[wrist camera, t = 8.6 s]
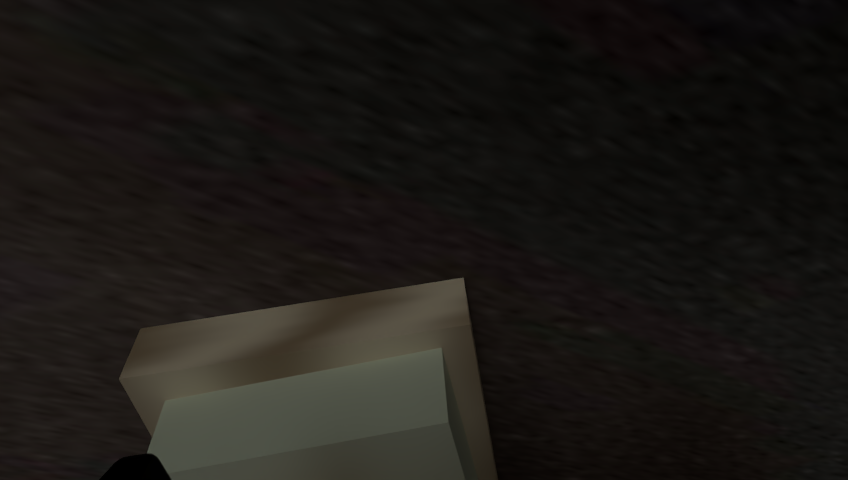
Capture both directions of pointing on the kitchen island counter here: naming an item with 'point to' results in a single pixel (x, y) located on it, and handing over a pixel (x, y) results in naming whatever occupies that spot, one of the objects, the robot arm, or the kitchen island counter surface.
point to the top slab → (322, 426)
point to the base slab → (314, 350)
